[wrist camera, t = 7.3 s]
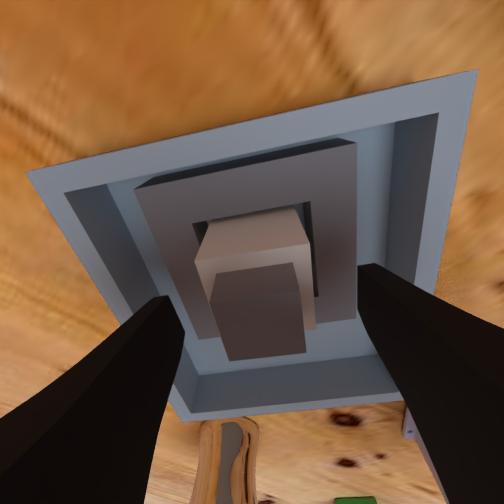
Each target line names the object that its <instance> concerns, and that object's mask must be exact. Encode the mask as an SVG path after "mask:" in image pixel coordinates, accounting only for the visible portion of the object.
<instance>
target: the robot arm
mask: <svg viewBox="0 0 504 504" xmlns="http://www.w3.org/2000/svg"><path fill="white" fill-rule="evenodd" d="M357 310H358V312H359V315H360V317H361V320H362V322H363V325H364V327H365V330H366V332H367V334H368V336H369V338H370V340H371V342H372V343H373V345H374V347H375V349H376V351H377V352H378V354H379V356H380V358H381V360H382V361H383V363H384V365H385V367H386V368H387V370H388V372H389V374H390V376H391V377H392V379H393V381H394V383H395V385H396V386H397V388H398V390H399V392H400V393H401V395H402V397H403V399H404V401H405V403H406V405H407V409H406V414H405V420H404V425H403V431H402V435H403V437H404V438H405V439H415V440H416V442H417V444H418V446H419V448H420V450H421V452H422V454H423V456H424V458H425V460H426V462H427V464H428V466H429V468H430V470H431V472H432V474H433V476H434V478H435V480H436V482H437V485H438V487H439V489H440V491H441V493H442V495H443V497H444V499H445V501H446V503H447V504H504V329H503V328H501V327H498V326H496V325H494V324H491V323H489V322H487V321H485V320H482V319H480V318H478V317H476V316H474V315H472V314H469V313H467V312H465V311H463V310H461V309H459V308H457V307H455V306H453V305H451V304H449V303H447V302H445V301H443V300H441V299H439V298H437V297H435V296H434V295H432V294H430V293H428V292H426V291H424V290H422V289H421V288H419V287H417V286H415V285H413V284H412V283H410V282H408V281H406V280H405V279H403V278H401V277H399V276H398V275H396V274H394V273H392V272H391V271H389V270H387V269H385V268H384V267H382V266H380V265H378V264H376V263H370V264H364V265H357ZM184 338H185V330H184V328H183V326H182V323H181V321H180V319H179V317H178V315H177V313H176V310H175V308H174V306H173V304H172V302H171V299H170V297H169V295H165V296H158V297H153V298H152V299H151V300H150V301H148V302H147V303H146V304H145V305H143V306H142V307H141V308H140V309H139V310H138V311H137V312H136V313H134V314H133V315H132V316H131V317H130V318H129V319H128V320H127V321H126V322H124V323H123V324H122V325H121V326H120V327H119V328H118V329H117V330H115V331H114V332H113V333H112V334H111V335H110V336H109V337H108V338H106V339H105V340H104V341H103V342H102V343H101V344H99V345H98V346H97V347H96V348H95V349H93V350H92V351H91V352H90V353H89V354H88V355H86V356H85V357H84V358H83V359H82V360H80V361H79V362H78V363H77V364H76V365H74V366H73V367H72V368H70V369H69V370H68V371H67V372H65V373H64V374H63V375H61V376H60V377H59V378H57V379H56V380H55V381H53V382H52V383H51V384H49V385H48V386H47V387H45V388H44V389H43V390H41V391H40V392H38V393H37V394H36V395H34V396H33V397H31V398H30V399H28V400H27V401H25V402H24V403H22V404H21V405H19V406H18V407H16V408H15V409H14V410H12V411H11V412H9V413H8V414H6V415H5V416H3V417H2V418H0V504H144V499H145V494H146V489H147V484H148V479H149V474H150V468H151V463H152V459H153V454H154V450H155V445H156V441H157V436H158V432H159V428H160V424H161V421H162V417H163V414H164V411H165V408H166V404H167V401H168V398H169V395H170V392H171V389H172V385H173V382H174V379H175V376H176V373H177V369H178V366H179V363H180V359H181V355H182V350H183V345H184Z"/></svg>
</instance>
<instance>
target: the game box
mask: <svg viewBox="0 0 504 504" xmlns="http://www.w3.org/2000/svg"><path fill="white" fill-rule="evenodd" d="M335 504H377V502H376V499H375V498H374V497H352V498H336V499H335Z"/></svg>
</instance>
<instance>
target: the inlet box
mask: <svg viewBox="0 0 504 504" xmlns="http://www.w3.org/2000/svg"><path fill="white" fill-rule="evenodd" d="M477 74H478V69H475V70H471V71H466V72H461V73H456V74H451V75H446V76H441V77H437V78H432V79H427V80H422V81H417V82H413V83H408V84H404V85H399V86H395V87H391V88H386V89H382V90H378V91H373V92H369V93H364V94H360V95H356V96H351V97H347V98H343V99H338V100H334V101H329V102H325V103H321V104H316V105H312V106H308V107H303V108H299V109H294V110H290V111H286V112H281V113H277V114H273V115H268V116H264V117H259V118H255V119H251V120H246V121H242V122H238V123H233V124H229V125H224V126H220V127H216V128H211V129H207V130H203V131H198V132H194V133H189V134H185V135H181V136H176V137H172V138H168V139H163V140H159V141H154V142H150V143H146V144H141V145H137V146H133V147H128V148H124V149H119V150H115V151H111V152H106V153H102V154H98V155H93V156H89V157H84V158H80V159H76V160H72V161H68V162H64V163H60V164H56V165H52V166H48V167H44V168H40V169H36V170H32V171H28V172H25V174H26V175H27V177H28V178H29V180H30V181H31V183H32V185H33V186H34V188H35V189H36V191H37V193H38V194H39V196H40V197H41V199H42V201H43V202H44V204H45V205H46V207H47V208H48V210H49V212H50V213H51V215H52V216H53V218H54V220H55V221H56V223H57V224H58V226H59V228H60V229H61V231H62V232H63V234H64V235H65V237H66V239H67V240H68V242H69V243H70V245H71V247H72V248H73V250H74V251H75V253H76V255H77V256H78V258H79V259H80V261H81V263H82V264H83V266H84V267H85V269H86V270H87V272H88V274H89V275H90V277H91V278H92V280H93V282H94V283H95V285H96V286H97V288H98V290H99V291H100V293H101V294H102V296H103V297H104V299H105V301H106V302H107V304H108V305H109V307H110V309H111V310H112V312H113V313H114V315H115V317H116V318H117V320H118V321H119V323H120V324H121V325H122V324H123V323H124V322H126V321H127V320H128V319H129V318H130V317H131V316H132V315H133V314H134V313H136V312H137V311H138V310H139V309H140V308H141V307H142V306H143V305H145V304H146V303H147V302H148V301H150V300H151V299H152V298H153V297H158V296H165V295H169V297H170V299H171V302H172V304H173V306H174V308H175V310H176V313H177V315H178V317H179V319H180V321H181V323H182V326H183V328H184V330H185V338H184V345H183V350H182V355H181V359H180V363H179V366H178V369H177V373H176V376H175V379H174V382H173V385H172V389H171V392H170V395H169V398H168V401H169V402H170V404H171V406H172V407H173V409H174V410H175V412H176V413H177V415H178V417H179V418H180V420H181V421H182V423H183V422H193V421H203V420H213V419H223V418H233V417H243V416H253V415H263V414H273V413H283V412H293V411H303V410H313V409H323V408H333V407H343V406H353V405H363V404H373V403H383V402H393V401H403V400H404V399H403V397H402V395H401V393H400V392H399V390H398V388H397V386H396V385H395V383H394V381H393V379H392V377H391V376H390V374H389V372H388V370H387V368H386V367H385V365H384V363H383V361H382V360H381V358H380V356H379V354H378V352H377V351H376V349H375V347H374V345H373V343H372V342H371V340H370V338H369V336H368V334H367V332H366V330H365V327H364V325H363V322H362V320H361V317H360V315H359V312H358V310H357V265H364V264H370V263H376V264H378V265H380V266H382V267H384V268H385V269H387V270H389V271H391V272H392V273H394V274H396V275H398V276H399V277H401V278H403V279H405V280H406V281H408V282H410V283H412V284H413V285H415V286H417V287H419V288H421V289H422V290H424V291H426V292H428V293H430V294H432V295H434V291H435V286H436V281H437V276H438V271H439V265H440V260H441V255H442V250H443V245H444V240H445V235H446V230H447V225H448V220H449V215H450V210H451V205H452V200H453V195H454V190H455V185H456V180H457V175H458V170H459V165H460V160H461V155H462V150H463V145H464V139H465V134H466V129H467V124H468V119H469V114H470V109H471V104H472V99H473V94H474V89H475V84H476V79H477ZM292 204H293V205H294V208H295V210H296V212H297V215H298V217H299V219H300V222H301V224H302V226H303V229H304V231H305V233H306V236H307V238H308V240H309V243H310V252H311V266H312V279H313V293H314V306H315V319H316V329H312V330H304V332H305V341H306V351H307V353H302V354H293V355H284V356H275V357H266V358H257V359H248V360H239V361H230V362H229V359H228V356H227V353H226V351H225V348H224V345H223V342H222V340H221V338H220V335H219V332H218V329H217V326H216V323H215V320H214V317H213V314H212V311H211V308H210V306H209V303H208V300H207V297H206V294H205V291H204V288H203V285H202V282H201V279H200V276H199V273H198V271H197V268H196V265H195V262H194V261H195V258H196V256H197V253H198V251H199V248H200V246H201V244H202V241H203V239H204V236H205V234H206V232H207V229H208V227H209V224H210V222H211V220H212V219H218V218H223V217H228V216H234V215H239V214H244V213H250V212H255V211H260V210H266V209H271V208H276V207H281V206H287V205H292Z"/></svg>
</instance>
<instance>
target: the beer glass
mask: <svg viewBox="0 0 504 504" xmlns="http://www.w3.org/2000/svg"><path fill="white" fill-rule="evenodd" d="M258 443H259V428H258V427H257V425H256V424H255V423H254V422H253V421H251V420H249V419H247V418H244V417H233V418H223V419H213V420H206V421H205V422H203V423H202V425H201V427H200V430H199V456H198V467H197V474H196V478H195V483H194V488H193V491H192V495H191V498H190V502H189V504H258V502H257V493H256V476H255V474H256V457H257V450H258Z"/></svg>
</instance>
